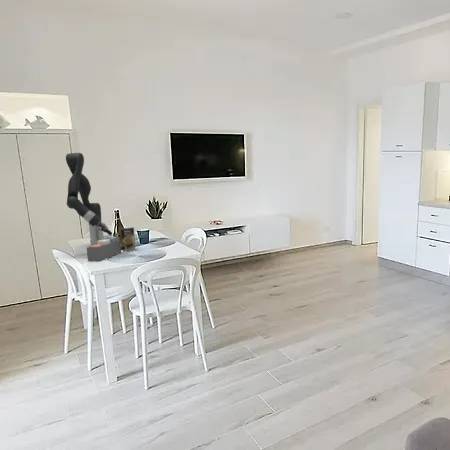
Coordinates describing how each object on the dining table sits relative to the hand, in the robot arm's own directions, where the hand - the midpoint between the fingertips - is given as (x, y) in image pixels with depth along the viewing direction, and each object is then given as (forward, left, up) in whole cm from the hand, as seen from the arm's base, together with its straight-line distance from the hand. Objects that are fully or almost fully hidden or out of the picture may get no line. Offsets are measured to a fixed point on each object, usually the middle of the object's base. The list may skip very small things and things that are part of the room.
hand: (111, 234), depth 272 cm
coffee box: (-11, +6, -14) cm, 19 cm away
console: (+8, -1, -14) cm, 16 cm away
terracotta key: (+16, -1, -7) cm, 18 cm away
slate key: (0, -1, -5) cm, 5 cm away
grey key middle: (+8, -1, -5) cm, 10 cm away
